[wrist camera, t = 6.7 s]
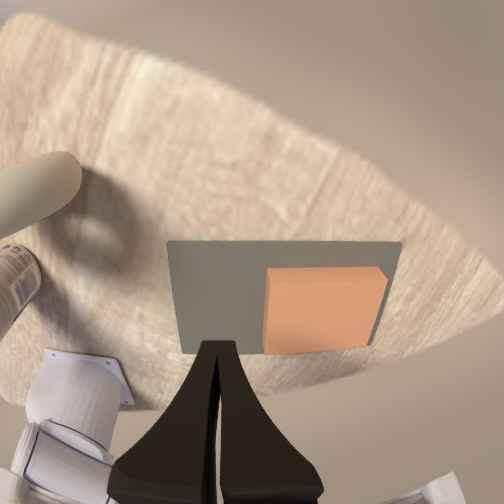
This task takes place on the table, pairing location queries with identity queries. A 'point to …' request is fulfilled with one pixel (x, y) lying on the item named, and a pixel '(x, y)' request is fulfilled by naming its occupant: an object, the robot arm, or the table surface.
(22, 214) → the donut
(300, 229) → the table surface
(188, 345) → the mat
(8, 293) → the energy drink
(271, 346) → the tile
